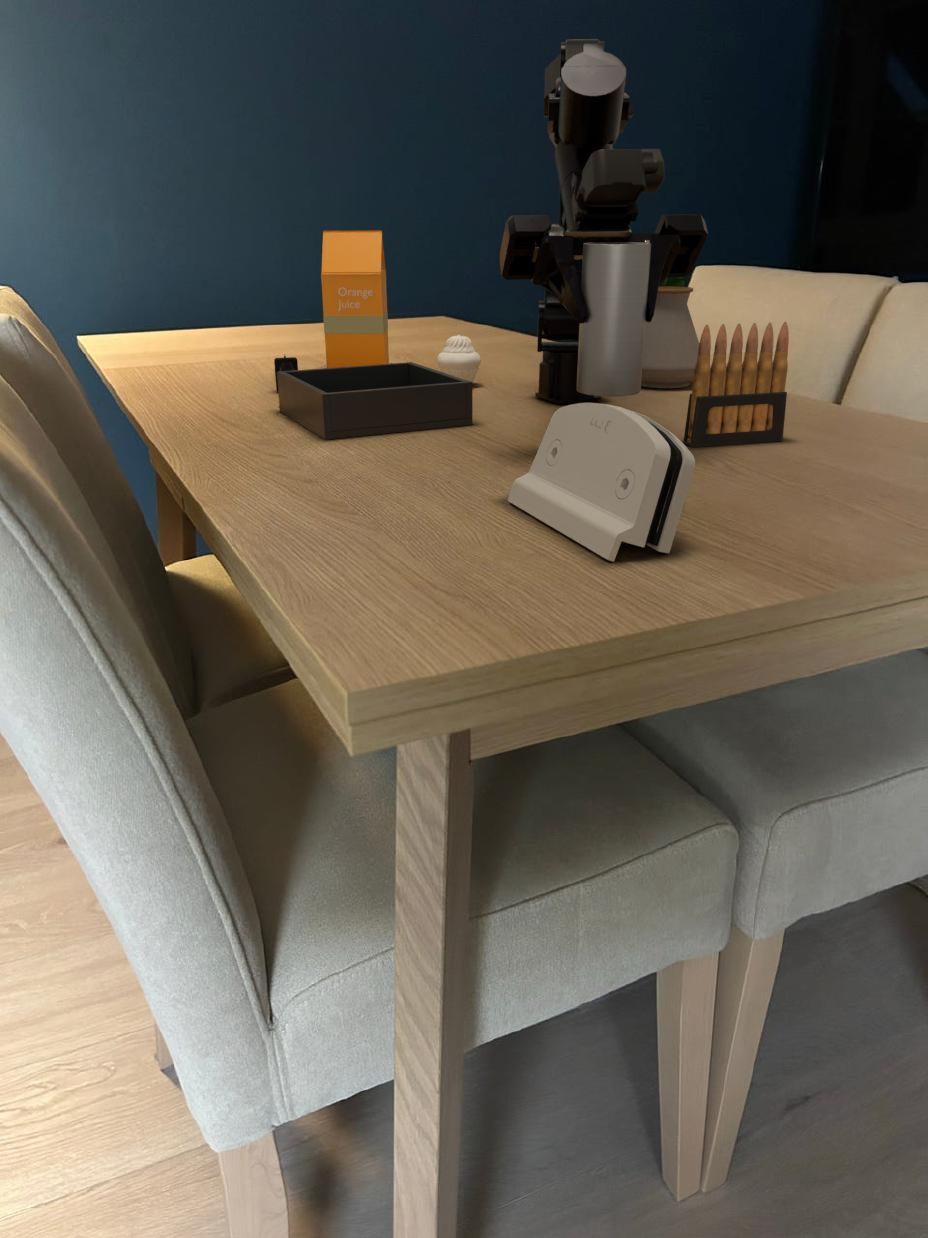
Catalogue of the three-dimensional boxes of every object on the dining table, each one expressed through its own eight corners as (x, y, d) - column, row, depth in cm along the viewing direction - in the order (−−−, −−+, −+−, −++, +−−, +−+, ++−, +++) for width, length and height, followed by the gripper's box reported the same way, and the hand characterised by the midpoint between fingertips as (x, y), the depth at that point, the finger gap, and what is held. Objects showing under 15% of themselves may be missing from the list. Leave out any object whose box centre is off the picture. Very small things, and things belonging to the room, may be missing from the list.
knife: (296, 397, 116) (293, 360, 114) (271, 397, 115) (268, 360, 114) (302, 384, 145) (301, 354, 143) (283, 384, 144) (281, 354, 143)
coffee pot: (720, 387, 130) (732, 271, 124) (650, 393, 125) (659, 274, 119) (635, 366, 148) (641, 265, 142) (571, 371, 143) (575, 266, 137)
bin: (412, 399, 122) (411, 361, 120) (472, 424, 107) (472, 381, 105) (279, 411, 114) (276, 371, 113) (325, 439, 100) (322, 394, 98)
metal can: (616, 383, 92) (625, 241, 87) (653, 393, 88) (665, 243, 82) (564, 388, 90) (570, 242, 85) (599, 398, 85) (608, 244, 80)
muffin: (430, 387, 130) (429, 335, 127) (446, 380, 135) (446, 330, 132) (472, 390, 128) (472, 337, 125) (487, 383, 133) (487, 332, 130)
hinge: (505, 499, 78) (544, 381, 76) (551, 511, 80) (591, 398, 78) (610, 561, 64) (663, 420, 62) (663, 574, 66) (716, 438, 64)
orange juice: (385, 375, 140) (380, 230, 132) (326, 375, 141) (317, 230, 133) (389, 367, 148) (385, 229, 140) (333, 367, 148) (325, 230, 140)
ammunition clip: (773, 436, 101) (788, 320, 96) (783, 440, 99) (798, 322, 94) (682, 443, 98) (693, 323, 93) (691, 447, 96) (702, 325, 92)
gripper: (507, 114, 82) (530, 256, 76) (711, 116, 84) (748, 254, 79) (491, 212, 92) (510, 343, 86) (673, 211, 94) (703, 339, 89)
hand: (616, 319), depth 85 cm, fingers closed on metal can, 6 cm apart
